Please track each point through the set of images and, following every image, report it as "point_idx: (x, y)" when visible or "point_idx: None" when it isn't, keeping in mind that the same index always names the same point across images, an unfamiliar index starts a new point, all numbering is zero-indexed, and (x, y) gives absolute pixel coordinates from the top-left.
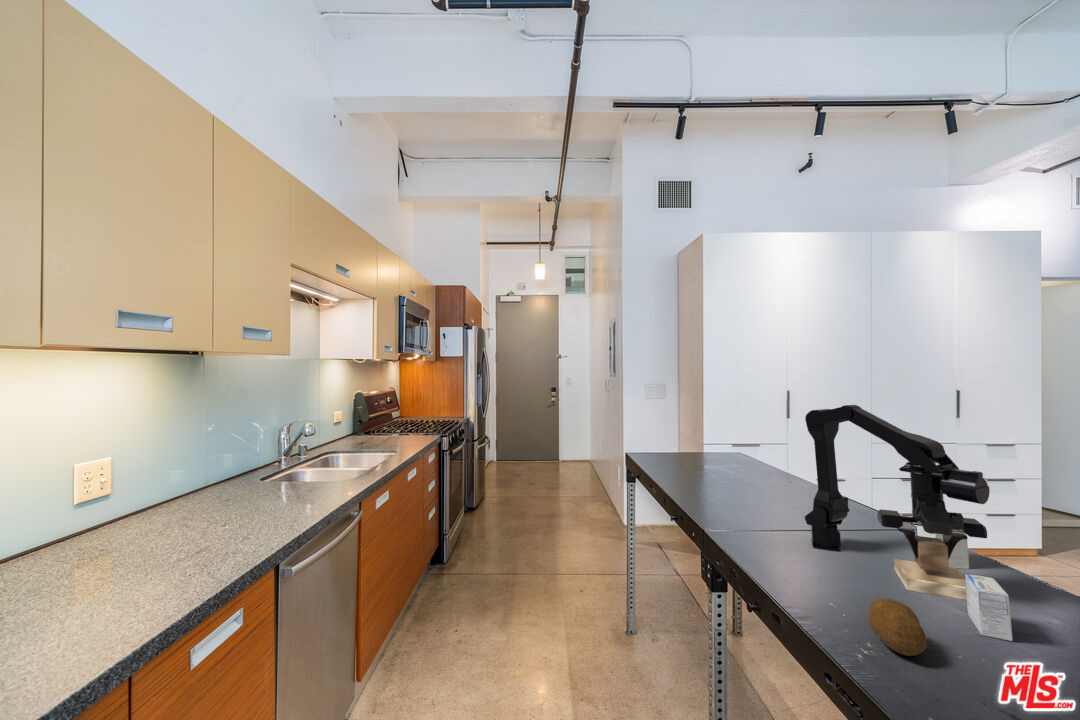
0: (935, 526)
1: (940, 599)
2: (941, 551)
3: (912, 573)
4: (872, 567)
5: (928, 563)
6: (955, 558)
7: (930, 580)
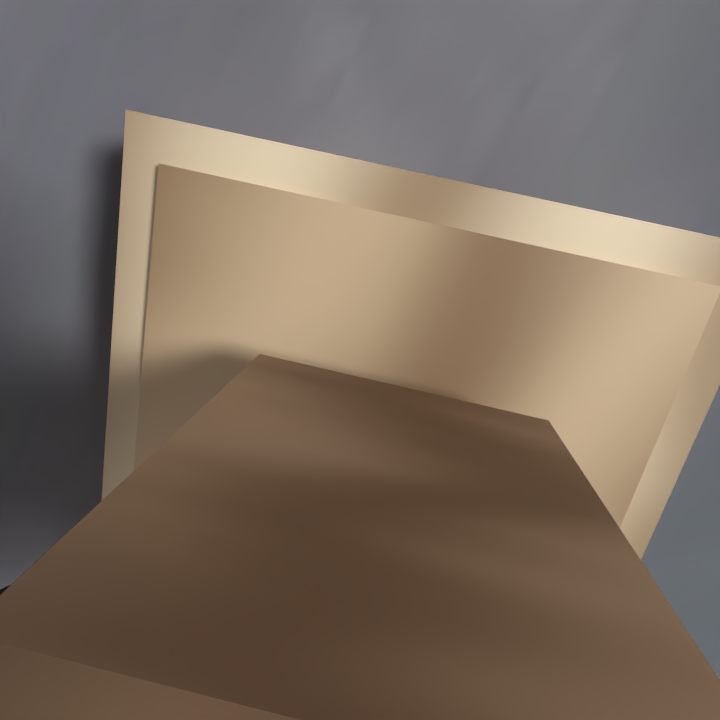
0: None
1: (493, 90)
2: (231, 526)
3: (610, 407)
4: (711, 659)
5: (472, 436)
6: None
7: (519, 239)
